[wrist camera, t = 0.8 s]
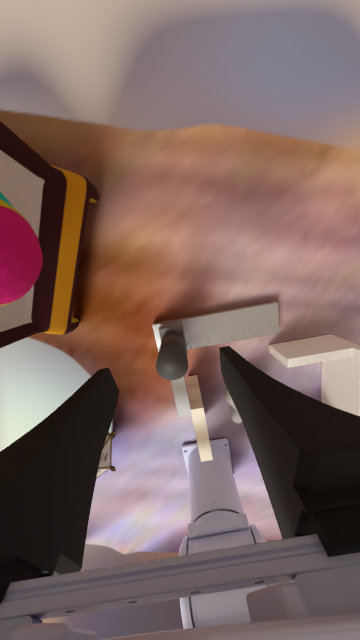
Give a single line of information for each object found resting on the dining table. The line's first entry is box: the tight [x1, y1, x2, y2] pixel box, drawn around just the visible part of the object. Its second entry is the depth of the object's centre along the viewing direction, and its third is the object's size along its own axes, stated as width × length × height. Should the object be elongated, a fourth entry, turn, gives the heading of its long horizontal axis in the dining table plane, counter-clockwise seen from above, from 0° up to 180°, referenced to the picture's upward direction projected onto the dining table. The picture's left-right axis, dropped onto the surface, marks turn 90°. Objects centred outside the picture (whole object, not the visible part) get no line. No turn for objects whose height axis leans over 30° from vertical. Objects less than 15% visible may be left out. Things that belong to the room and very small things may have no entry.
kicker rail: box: [152, 301, 279, 352], centre depth 24 cm, size 4×17×1 cm, turn 100°
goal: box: [268, 334, 360, 416], centre depth 24 cm, size 13×9×6 cm
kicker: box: [156, 322, 213, 462], centre depth 22 cm, size 17×4×9 cm, turn 10°
